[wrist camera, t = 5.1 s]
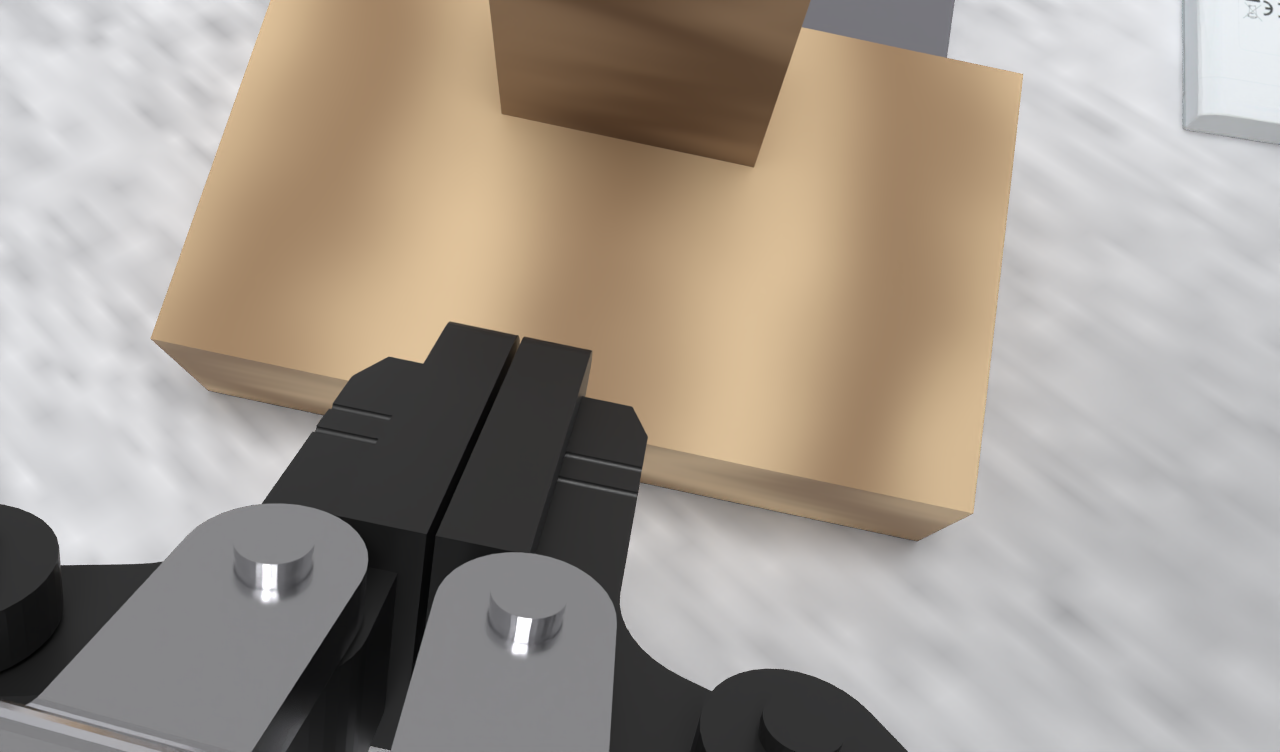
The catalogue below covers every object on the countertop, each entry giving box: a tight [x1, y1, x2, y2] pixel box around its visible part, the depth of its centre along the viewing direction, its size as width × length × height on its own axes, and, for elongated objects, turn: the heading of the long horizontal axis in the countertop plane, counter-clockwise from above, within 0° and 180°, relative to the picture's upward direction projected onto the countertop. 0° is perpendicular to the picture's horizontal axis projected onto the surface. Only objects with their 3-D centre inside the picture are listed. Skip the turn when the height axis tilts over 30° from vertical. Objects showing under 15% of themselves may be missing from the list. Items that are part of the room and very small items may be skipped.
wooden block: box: [151, 0, 1023, 541], centre depth 27 cm, size 18×11×4 cm, turn 78°
